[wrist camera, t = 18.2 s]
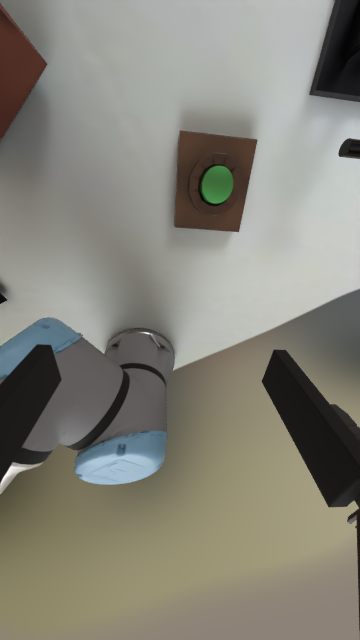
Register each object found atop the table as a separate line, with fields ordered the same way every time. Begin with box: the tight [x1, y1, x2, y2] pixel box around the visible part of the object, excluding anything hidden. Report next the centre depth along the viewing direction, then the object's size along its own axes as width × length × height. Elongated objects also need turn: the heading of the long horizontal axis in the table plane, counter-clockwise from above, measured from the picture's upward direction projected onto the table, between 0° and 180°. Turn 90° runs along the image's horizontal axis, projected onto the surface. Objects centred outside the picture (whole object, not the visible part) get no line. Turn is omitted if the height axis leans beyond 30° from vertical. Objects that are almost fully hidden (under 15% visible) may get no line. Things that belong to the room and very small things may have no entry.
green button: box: [200, 166, 233, 203], centre depth 26 cm, size 4×4×2 cm
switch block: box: [174, 131, 257, 232], centre depth 29 cm, size 11×10×4 cm
